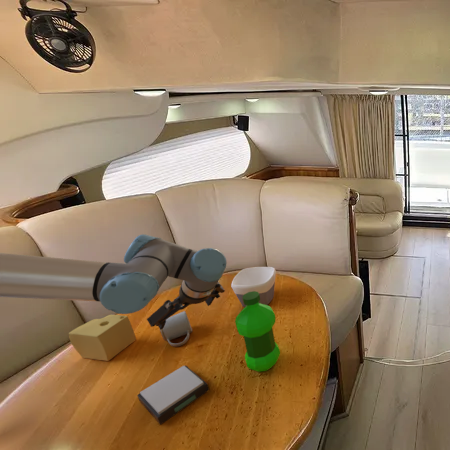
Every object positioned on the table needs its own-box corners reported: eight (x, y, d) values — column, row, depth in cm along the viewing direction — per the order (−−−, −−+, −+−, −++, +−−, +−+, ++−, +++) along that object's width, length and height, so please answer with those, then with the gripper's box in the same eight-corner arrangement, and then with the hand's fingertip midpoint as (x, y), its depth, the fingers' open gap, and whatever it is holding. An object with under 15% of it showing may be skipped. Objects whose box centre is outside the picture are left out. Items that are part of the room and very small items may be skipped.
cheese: (111, 336, 107) (101, 312, 103) (139, 339, 105) (130, 315, 102) (78, 359, 97) (66, 333, 93) (108, 363, 96) (97, 337, 92)
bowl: (245, 290, 133) (240, 267, 129) (282, 287, 135) (279, 265, 131) (231, 312, 119) (225, 287, 115) (273, 309, 121) (268, 285, 117)
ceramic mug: (162, 334, 107) (156, 316, 104) (190, 324, 112) (184, 306, 109) (166, 352, 100) (160, 333, 97) (196, 340, 105) (190, 322, 102)
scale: (160, 425, 77) (157, 416, 76) (139, 401, 83) (136, 392, 82) (209, 390, 87) (207, 381, 86) (187, 371, 93) (185, 363, 92)
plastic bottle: (239, 367, 94) (222, 297, 85) (271, 347, 102) (258, 281, 93) (257, 384, 89) (241, 311, 80) (289, 361, 96) (278, 293, 87)
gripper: (151, 323, 73) (143, 347, 86) (248, 276, 93) (230, 302, 106) (135, 297, 74) (129, 325, 87) (235, 256, 94) (218, 284, 107)
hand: (184, 313), depth 97 cm, fingers open, 13 cm apart
